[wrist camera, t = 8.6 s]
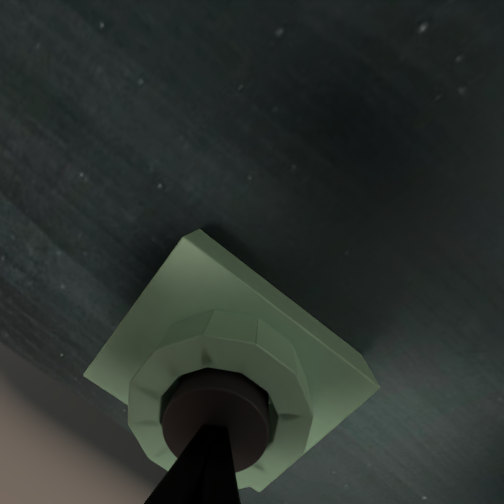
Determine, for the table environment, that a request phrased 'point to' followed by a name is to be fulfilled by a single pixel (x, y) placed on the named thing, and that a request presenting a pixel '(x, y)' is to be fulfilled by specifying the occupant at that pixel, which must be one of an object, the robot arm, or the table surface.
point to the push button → (219, 413)
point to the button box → (230, 355)
